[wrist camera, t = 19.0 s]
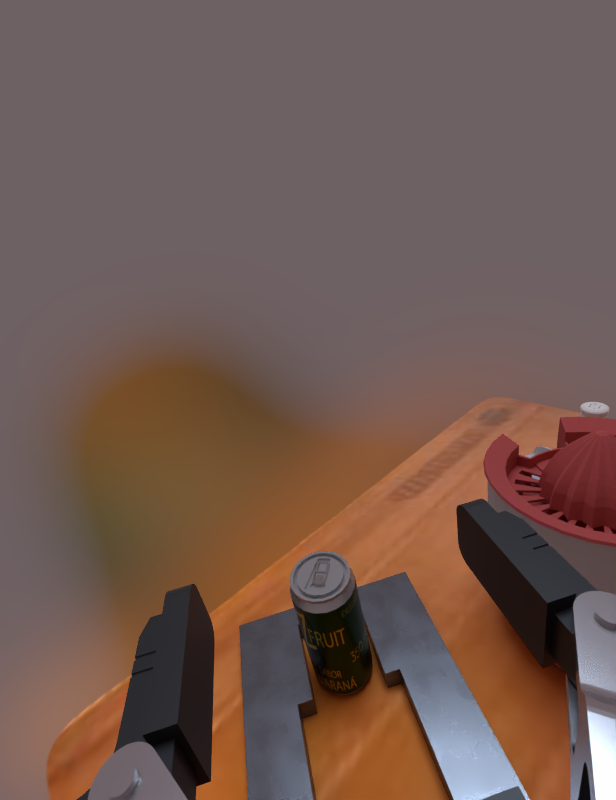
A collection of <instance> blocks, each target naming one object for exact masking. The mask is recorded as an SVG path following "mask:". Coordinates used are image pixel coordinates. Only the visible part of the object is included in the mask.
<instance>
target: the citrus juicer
mask: <svg viewBox="0 0 616 800" xmlns="http://www.w3.org/2000/svg"><path fill="white" fill-rule="evenodd" d="M518 454H519V445H517V444H516V443H515V442H513V441H512V440H511V439H509V438H508V437H506V436H505V435H504V434H502V435H501V436H500V437H498V438H497V439H496V440H495V441H493V443H492V444H491V446H490V447H489V449H488V450H487V452H486V455H485V459H484V471H485V475H486V478H487V480H488V504H489V505H490V506H491V507H492V508H493V509H494V510H495V511H496V512H497V513H499V512H502V511H505V510H506V511H507V512H509V513H511V514H513V515H515V516H517V517H519V518H521V519H523V520H524V521H525V522H526V523H528V524H529V525H530V526H531V527H532V528H533V529H534V530H535V531H536V532H537V534H538V535H540V536H541V537H542V538H543V539H544V540H545V541H546V542H547V543H548V544H549V546H552V547H553V548H554V549H555V550H556V551H557V552H558V553H559V554H560V555H561V556H562V557H563V558H564V559H565V560H566V561H567V562H568V563H569V564H570V565H571V566H573V567H574V568H575V569H576V570H577V571H578V572H579V573H580V574H581V575H582V576H583V577H584V578H585V579H586V580H587V581H588V582H589V583H590V584H591V585H592V586H593V587H595V588H596V589H597V590H598V591H602V592H608V593H611V594H614V595H616V420H614V419H607V418H595V417H565V418H560V424H559V432H558V441H557V449H549V448H546V447H541V446H540V447H536V449H535V450H534V452H533V453H531V454H529V455H527V456H521V455H518ZM554 665H556V666H557V667H559V668H561V667H560V666H559V665H558V663H555V664H554ZM561 669H562V668H561Z"/></svg>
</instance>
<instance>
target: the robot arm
mask: <svg viewBox="0 0 616 800" xmlns="http://www.w3.org/2000/svg"><path fill="white" fill-rule="evenodd" d="M457 527H458V543H459V548H460V551H461V554H462V556H463V558H464V560H465V562H466V564H467V565H468V566H469V568H470V569H471V570H472V572H473V573H474V575H475V576H476V577H477V579H478V580H479V581H480V583H481V584H482V585H483V587H484V588H485V590H486V591H487V592H488V594H489V595H490V596H491V598H492V599H493V600H494V602H495V603H496V605H497V606H498V607H499V609H500V610H501V611H502V613H503V614H504V615H505V617H506V618H507V620H508V621H509V622H510V624H511V625H512V626H513V628H514V629H515V630H516V632H517V633H518V635H519V636H520V637H521V639H522V640H523V641H524V643H525V644H526V645H527V647H528V648H529V650H530V651H531V652H532V654H533V655H534V656H535V658H536V659H537V660H538V662H539V663H540V665H541V666H542V667H543V668H544V667H547V666H550V665H553V664H555V663H558V665H559V666H560V667H561V668H562V670H563V671H564V672H565V674H566V680H565V682H566V697H567V712H568V728H569V743H570V759H571V800H616V595H614V594H611V593H608V592H602V591H598V590H597V589H596V588H595V587H593V586H592V585H591V584H590V583H589V582H588V581H587V580H586V579H585V578H584V577H583V576H582V575H581V574H580V573H579V572H578V571H577V570H576V569H575V568H574V567H573V566H571V565H570V564H569V563H568V562H567V561H566V560H565V559H564V558H563V557H562V556H561V555H560V554H559V553H558V552H557V551H556V550H555V549H554V548H553V547H552V546H549V544H548V543H547V542H546V541H545V540H544V539H543V538H542V537H541V536H540V535H538V534H537V532H536V531H535V530H534V529H533V528H532V527H531V526H530V525H529V524H528V523H526V522H525V521H524V520H523V519H521V518H519V517H517V516H515V515H513V514H511V513H509V512H507V511H506V510H505V511H502V512H499V513H497V512H496V511H495V510H494V509H493V508H492V507H491V506H490V505H489V504H488V503H487V502H486V501H485V500H484V499H478V500H475V501H472V502H468V503H465V504H462V505H458V506H457ZM135 658H136V660H135V661H134V665H133V669H132V678H131V679H130V683H129V688H128V693H127V697H126V702H125V707H124V712H123V716H122V721H121V726H120V730H119V735H118V740H117V744H116V748H115V751H114V753H113V755H112V756H111V757H109V759H108V760H107V761H106V762H105V763H104V764H103V766H102V767H101V769H100V770H99V772H98V773H97V775H96V777H95V779H94V781H93V783H92V785H91V788H90V789H89V790H88V791H87V792H86V793H85V794H83V795H82V796H81V797H80V798H78V799H77V800H196V786H199V785H202V784H205V783H207V782H210V781H211V755H212V716H213V678H214V631H213V626H212V622H211V619H210V616H209V614H208V612H207V610H206V607H205V605H204V603H203V600H202V598H201V596H200V594H199V591H198V589H197V587H196V586H195V584H191V585H188V586H185V587H181V588H178V589H174V590H171V591H168V592H167V593H166V595H165V600H164V607H163V613H162V614H161V615H157V616H154V617H151V618H150V619H149V621H148V623H147V625H146V626H145V628H144V630H143V632H142V634H141V635H140V637H139V641H138V646H137V651H136V655H135ZM481 800H526V799H525V797H524V795H523V793H522V792H521V790H520V788H519V786H516V787H513V788H510V789H508V790H505V791H502V792H500V793H497V794H494V795H492V796H489V797H486V798H484V799H481Z"/></svg>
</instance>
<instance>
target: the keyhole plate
mask: <svg viewBox="0 0 616 800" xmlns="http://www.w3.org/2000/svg"><path fill="white" fill-rule="evenodd" d="M357 590H358V594H359V599H360V604H361V608H362V613H363V618H364V622H365V627H366V630H367V633H368V635H369V638H370V641H371V643H372V646H373V649H374V651H375V654H376V657H377V660H378V662H379V665H380V668H381V670H382V673H383V676H384V678H385V681H386V684H387V686H388V688H389V687H392V686H395V685H398V684H400V683H402V684H403V686H404V689H405V691H406V694H407V696H408V699H409V701H410V704H411V706H412V709H413V711H414V713H415V716H416V718H417V721H418V723H419V726H420V728H421V731H422V733H423V736H424V738H425V741H426V743H427V745H428V748H429V750H430V753H431V755H432V758H433V760H434V763H435V765H436V768H437V770H438V773H439V775H440V778H441V780H442V782H443V785H444V787H445V790H446V792H447V795H448V797H449V800H481V799H484V798H486V797H489V796H492V795H494V794H497V793H500V792H502V791H505V790H508V789H510V788H513V787H516V786H519V788H520V790H521V792H522V793H523V795H524V797H525V799H526V800H530V799H529V797H528V795H527V793H526V791H525V790H524V788H523V786H522V784H521V782H520V781H519V779H518V777H517V775H516V773H515V771H514V770H513V768H512V766H511V764H510V762H509V760H508V759H507V757H506V755H505V753H504V751H503V750H502V748H501V746H500V744H499V742H498V740H497V739H496V737H495V735H494V733H493V731H492V729H491V728H490V726H489V724H488V722H487V720H486V719H485V717H484V715H483V713H482V711H481V709H480V708H479V706H478V704H477V702H476V700H475V698H474V697H473V695H472V693H471V691H470V689H469V688H468V686H467V684H466V682H465V680H464V678H463V677H462V675H461V673H460V671H459V669H458V667H457V666H456V664H455V662H454V660H453V658H452V657H451V655H450V653H449V651H448V649H447V647H446V646H445V644H444V642H443V640H442V638H441V636H440V635H439V633H438V631H437V629H436V627H435V626H434V624H433V622H432V620H431V618H430V616H429V615H428V613H427V611H426V609H425V607H424V605H423V604H422V602H421V600H420V598H419V596H418V595H417V593H416V591H415V589H414V587H413V585H412V584H411V582H410V580H409V578H408V576H407V574H406V573H405V572H403V573H400V574H397V575H394V576H391V577H388V578H385V579H382V580H379V581H376V582H372V583H369V584H366V585H363V586H360V587H357ZM239 628H240V648H241V668H242V688H243V708H244V728H245V748H246V768H247V788H248V800H316V795H315V789H314V783H313V777H312V771H311V766H310V760H309V754H308V748H307V742H306V736H305V730H304V725H303V719H302V718H305V717H307V716H310V715H313V714H316V713H317V710H316V705H315V700H314V695H313V690H312V685H311V680H310V675H309V670H308V665H307V661H306V656H305V651H304V646H303V641H302V638H304V636H303V633H302V630H301V627H300V623H299V620H298V617H297V614H296V611H295V608H292V609H289V610H286V611H283V612H280V613H277V614H274V615H271V616H268V617H265V618H262V619H259V620H256V621H252V622H249V623H246V624H243V625H240V626H239Z"/></svg>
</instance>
